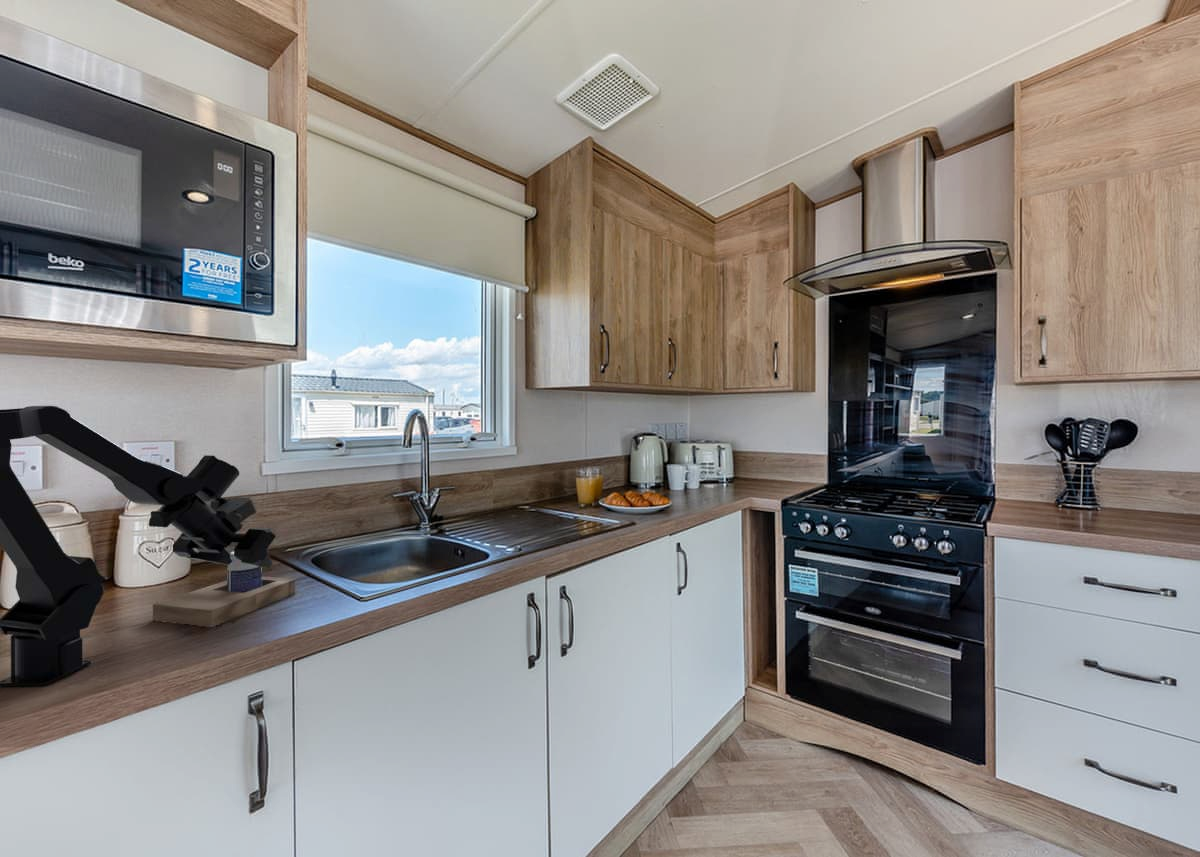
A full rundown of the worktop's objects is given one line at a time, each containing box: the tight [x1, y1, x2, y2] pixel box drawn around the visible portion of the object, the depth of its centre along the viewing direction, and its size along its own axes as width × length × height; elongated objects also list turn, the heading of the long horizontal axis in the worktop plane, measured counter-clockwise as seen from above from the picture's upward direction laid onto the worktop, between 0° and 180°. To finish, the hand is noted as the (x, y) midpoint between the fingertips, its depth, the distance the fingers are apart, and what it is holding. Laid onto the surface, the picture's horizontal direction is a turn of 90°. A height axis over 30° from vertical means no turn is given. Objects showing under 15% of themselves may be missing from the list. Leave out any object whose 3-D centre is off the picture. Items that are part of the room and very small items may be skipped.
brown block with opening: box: [152, 576, 296, 628], centre depth 97 cm, size 18×13×3 cm
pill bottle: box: [226, 551, 263, 593], centre depth 101 cm, size 6×6×10 cm
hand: (251, 564), depth 102 cm, fingers open, 9 cm apart
